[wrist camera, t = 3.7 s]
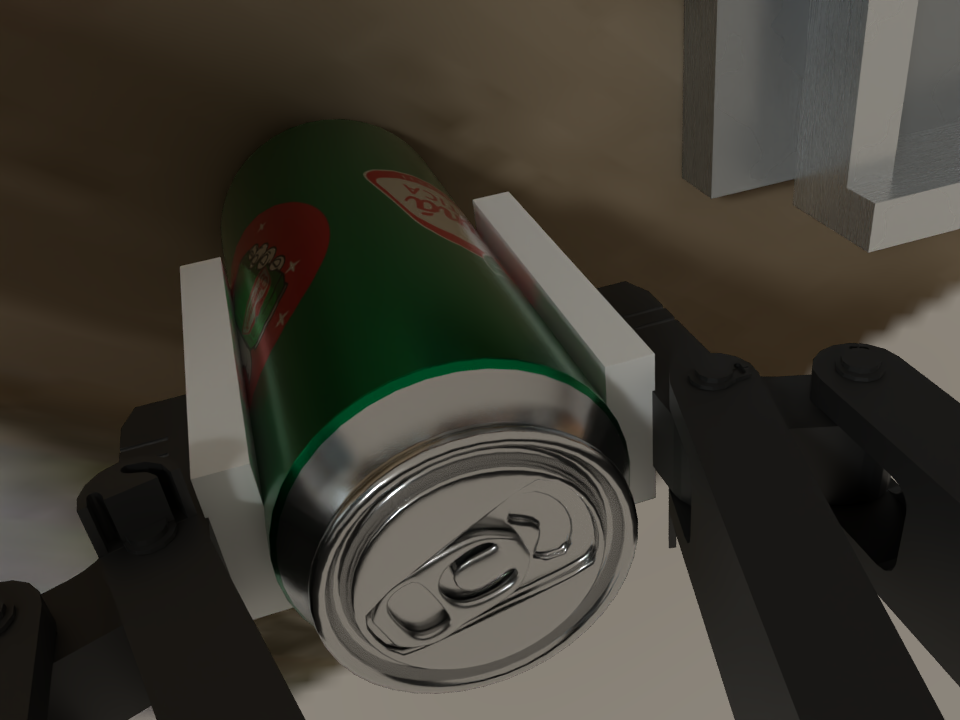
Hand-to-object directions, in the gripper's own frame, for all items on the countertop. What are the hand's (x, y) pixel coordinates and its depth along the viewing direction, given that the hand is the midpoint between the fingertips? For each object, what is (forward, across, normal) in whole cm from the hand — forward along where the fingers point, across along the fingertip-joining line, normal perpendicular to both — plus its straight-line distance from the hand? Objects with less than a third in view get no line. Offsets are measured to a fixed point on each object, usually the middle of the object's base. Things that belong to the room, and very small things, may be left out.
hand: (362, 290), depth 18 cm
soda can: (+4, 0, 0) cm, 4 cm away
